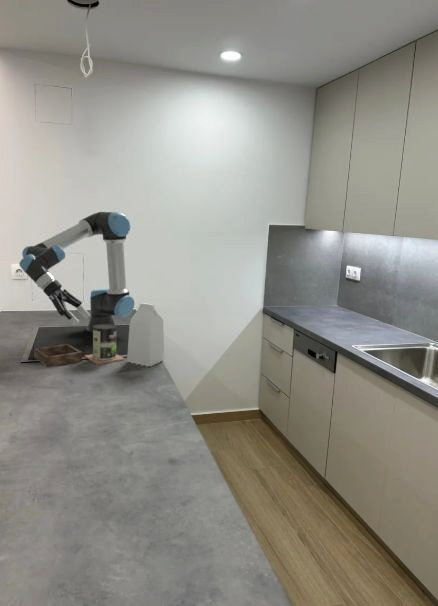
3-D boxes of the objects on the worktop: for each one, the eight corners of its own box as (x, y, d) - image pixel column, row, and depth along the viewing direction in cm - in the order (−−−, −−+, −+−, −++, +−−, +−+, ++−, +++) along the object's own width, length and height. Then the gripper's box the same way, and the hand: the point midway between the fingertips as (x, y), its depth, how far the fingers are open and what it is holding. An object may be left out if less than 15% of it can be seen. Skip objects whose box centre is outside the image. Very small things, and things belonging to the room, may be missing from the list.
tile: (110, 352, 215) (110, 351, 215) (124, 359, 206) (124, 358, 205) (84, 356, 207) (84, 355, 207) (97, 364, 197) (97, 363, 197)
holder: (68, 352, 212) (68, 343, 212) (82, 361, 201) (82, 352, 200) (34, 357, 203) (34, 348, 202) (46, 366, 191) (46, 357, 190)
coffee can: (120, 354, 210) (120, 324, 208) (110, 361, 200) (110, 329, 198) (99, 352, 212) (99, 322, 210) (88, 358, 202) (88, 327, 200)
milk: (164, 360, 208) (165, 303, 203) (150, 366, 198) (151, 307, 193) (141, 355, 213) (143, 300, 208) (126, 362, 202) (127, 304, 198)
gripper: (55, 286, 215) (87, 319, 217) (29, 295, 191) (65, 332, 192) (66, 275, 214) (98, 309, 216) (42, 283, 189) (78, 321, 191)
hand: (82, 320), depth 204 cm, fingers open, 13 cm apart
